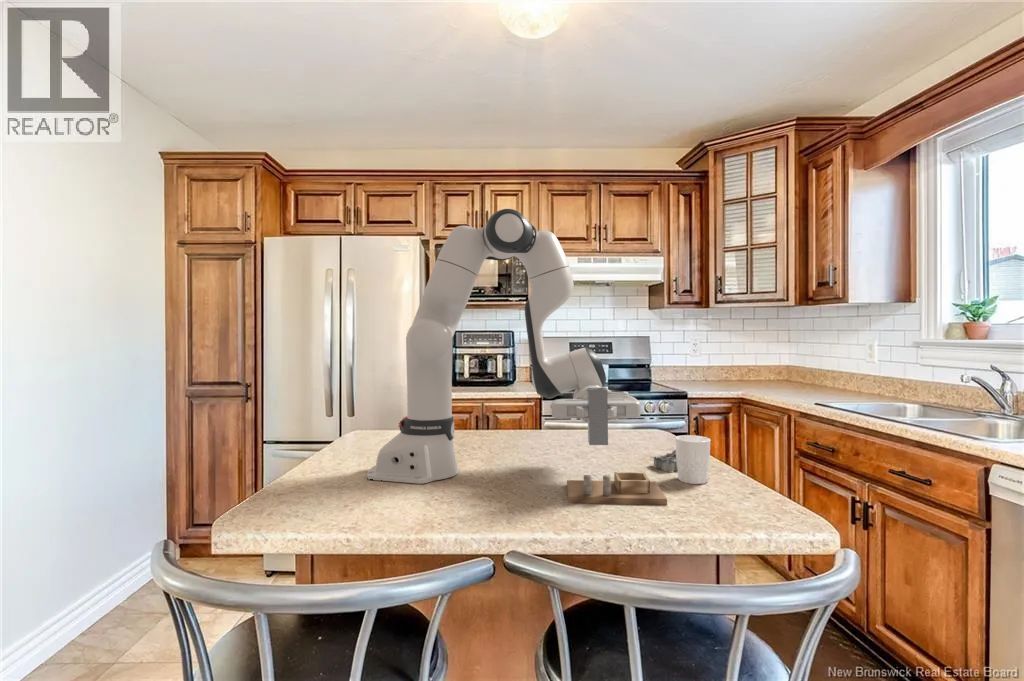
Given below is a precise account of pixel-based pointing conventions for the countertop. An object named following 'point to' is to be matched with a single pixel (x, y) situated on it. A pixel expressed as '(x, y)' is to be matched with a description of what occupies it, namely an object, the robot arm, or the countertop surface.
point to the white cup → (692, 458)
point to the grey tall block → (597, 416)
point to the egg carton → (666, 461)
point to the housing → (616, 490)
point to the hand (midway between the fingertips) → (598, 414)
